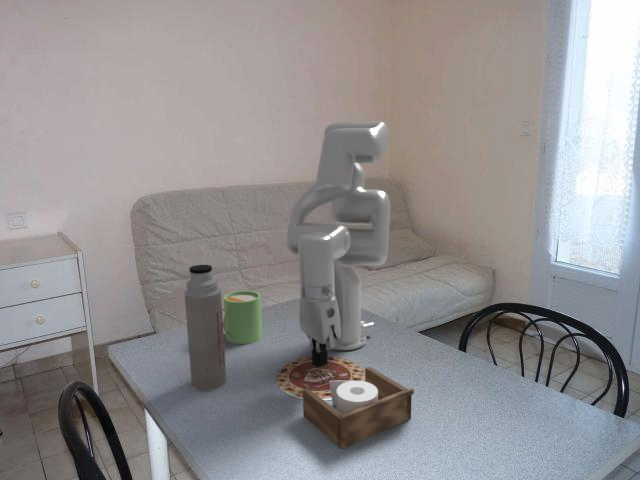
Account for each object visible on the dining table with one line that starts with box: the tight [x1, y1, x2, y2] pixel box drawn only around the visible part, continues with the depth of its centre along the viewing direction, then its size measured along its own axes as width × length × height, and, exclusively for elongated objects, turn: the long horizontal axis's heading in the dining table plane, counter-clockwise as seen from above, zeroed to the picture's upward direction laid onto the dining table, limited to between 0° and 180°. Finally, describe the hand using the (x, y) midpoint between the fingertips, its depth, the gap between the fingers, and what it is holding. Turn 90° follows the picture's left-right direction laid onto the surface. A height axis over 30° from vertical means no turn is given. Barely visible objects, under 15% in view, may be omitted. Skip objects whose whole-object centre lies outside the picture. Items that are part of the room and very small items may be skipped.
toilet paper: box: [329, 380, 378, 415], centre depth 102 cm, size 8×11×7 cm
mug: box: [222, 290, 263, 345], centre depth 142 cm, size 13×10×12 cm
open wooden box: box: [302, 366, 415, 450], centre depth 102 cm, size 17×14×7 cm
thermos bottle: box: [183, 264, 227, 392], centre depth 116 cm, size 8×8×28 cm
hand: (320, 364), depth 115 cm, fingers closed
